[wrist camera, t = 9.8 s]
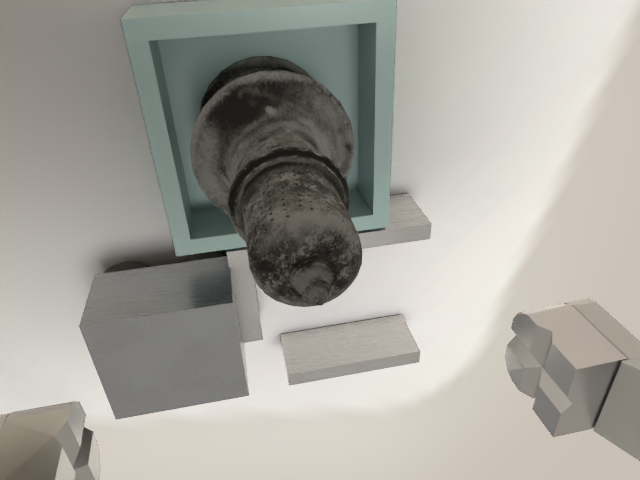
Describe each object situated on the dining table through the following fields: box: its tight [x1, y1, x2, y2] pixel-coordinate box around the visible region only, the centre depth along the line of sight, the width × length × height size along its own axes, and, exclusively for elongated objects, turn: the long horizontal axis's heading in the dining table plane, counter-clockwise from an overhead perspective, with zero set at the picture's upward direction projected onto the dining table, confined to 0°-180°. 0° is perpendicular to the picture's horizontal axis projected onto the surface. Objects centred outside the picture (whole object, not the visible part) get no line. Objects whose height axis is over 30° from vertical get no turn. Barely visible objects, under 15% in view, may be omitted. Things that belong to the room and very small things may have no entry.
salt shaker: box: [190, 56, 362, 307], centre depth 16 cm, size 6×6×12 cm
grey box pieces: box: [79, 193, 431, 419], centre depth 24 cm, size 15×9×4 cm, turn 92°
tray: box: [120, 0, 397, 257], centre depth 20 cm, size 9×9×3 cm
